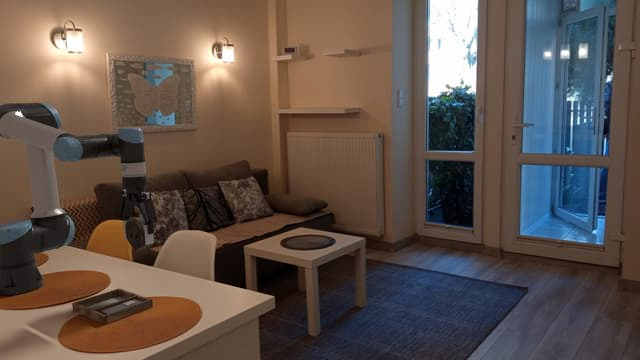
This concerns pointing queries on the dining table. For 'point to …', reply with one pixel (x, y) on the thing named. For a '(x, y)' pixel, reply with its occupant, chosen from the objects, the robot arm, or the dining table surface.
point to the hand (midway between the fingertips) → (139, 241)
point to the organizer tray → (111, 305)
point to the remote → (120, 306)
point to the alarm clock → (136, 232)
